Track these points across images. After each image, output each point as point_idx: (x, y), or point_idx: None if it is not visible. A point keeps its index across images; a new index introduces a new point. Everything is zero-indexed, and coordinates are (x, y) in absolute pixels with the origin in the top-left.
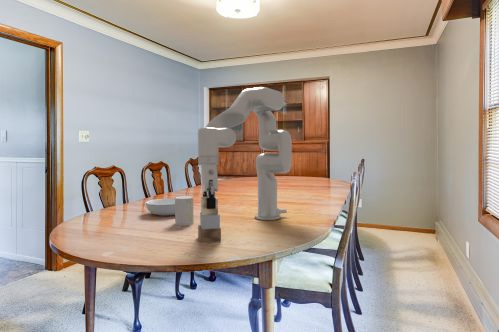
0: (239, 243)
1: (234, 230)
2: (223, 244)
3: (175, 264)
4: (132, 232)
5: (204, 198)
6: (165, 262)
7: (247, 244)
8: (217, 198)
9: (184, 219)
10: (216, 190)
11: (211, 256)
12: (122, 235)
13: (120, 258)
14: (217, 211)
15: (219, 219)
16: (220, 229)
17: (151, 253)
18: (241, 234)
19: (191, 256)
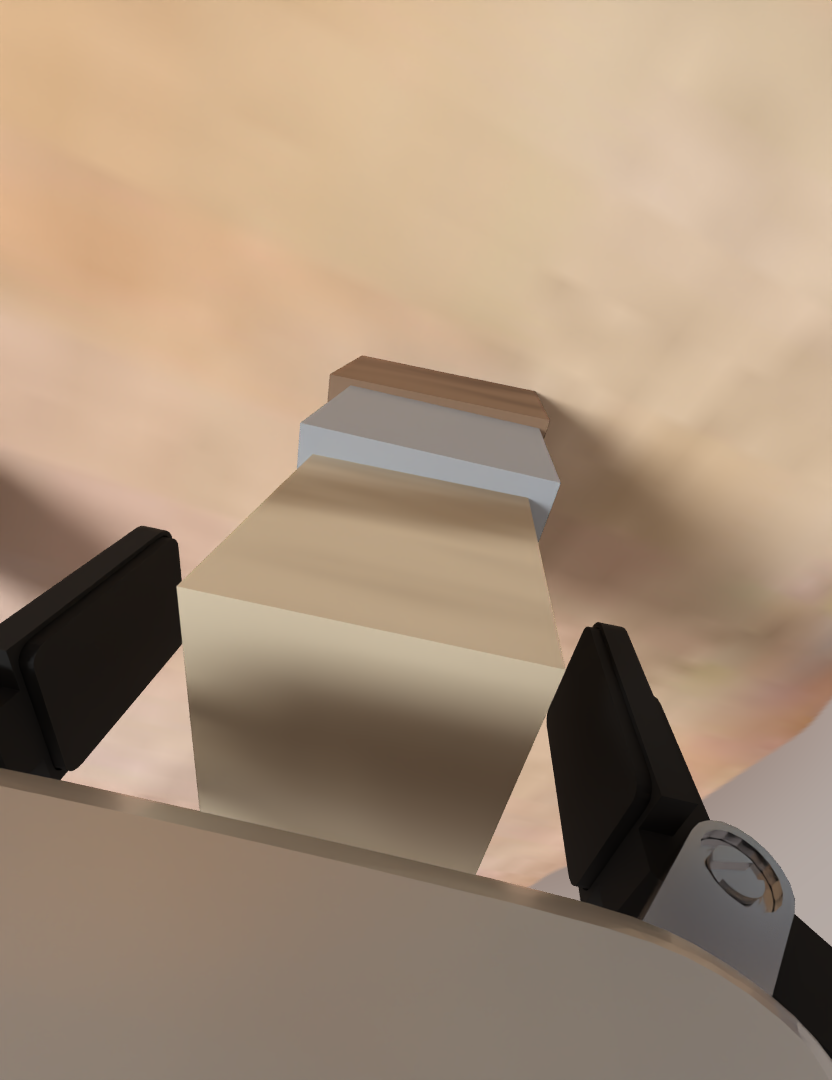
0: (709, 250)
1: (218, 68)
2: (631, 407)
3: (767, 752)
4: (124, 756)
5: (410, 838)
6: (702, 772)
7: (804, 176)
8: (558, 676)
9: None
10: (522, 921)
11: (815, 583)
12: (172, 793)
13: (520, 857)
14: (531, 524)
15: (551, 464)
16: (546, 421)
17: (527, 778)
18: (418, 53)
19: (715, 667)
